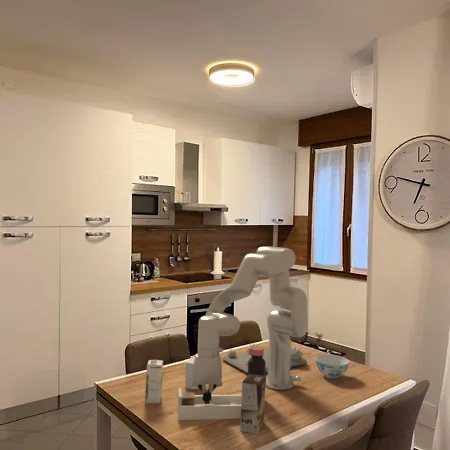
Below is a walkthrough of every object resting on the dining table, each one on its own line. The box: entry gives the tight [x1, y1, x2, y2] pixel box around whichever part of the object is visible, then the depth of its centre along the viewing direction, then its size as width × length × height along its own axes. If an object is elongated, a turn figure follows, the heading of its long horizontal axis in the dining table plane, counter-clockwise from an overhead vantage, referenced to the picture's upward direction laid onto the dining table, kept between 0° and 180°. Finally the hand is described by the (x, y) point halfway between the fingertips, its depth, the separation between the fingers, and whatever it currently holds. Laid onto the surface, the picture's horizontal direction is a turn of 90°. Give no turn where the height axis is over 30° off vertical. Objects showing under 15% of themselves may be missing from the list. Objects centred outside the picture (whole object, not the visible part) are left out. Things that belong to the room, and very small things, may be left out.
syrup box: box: [144, 359, 164, 404], centre depth 160 cm, size 6×6×14 cm
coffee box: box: [239, 374, 267, 435], centre depth 142 cm, size 9×6×16 cm
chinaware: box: [314, 354, 350, 379], centre depth 193 cm, size 15×15×8 cm
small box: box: [184, 357, 200, 391], centre depth 176 cm, size 8×6×10 cm
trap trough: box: [177, 387, 242, 421], centre depth 152 cm, size 28×10×8 cm, turn 97°
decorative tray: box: [221, 343, 308, 375], centre depth 208 cm, size 35×26×10 cm
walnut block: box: [182, 392, 195, 406], centre depth 150 cm, size 4×4×4 cm
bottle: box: [247, 346, 266, 376], centre depth 164 cm, size 7×7×20 cm
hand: (206, 402), depth 151 cm, fingers closed
